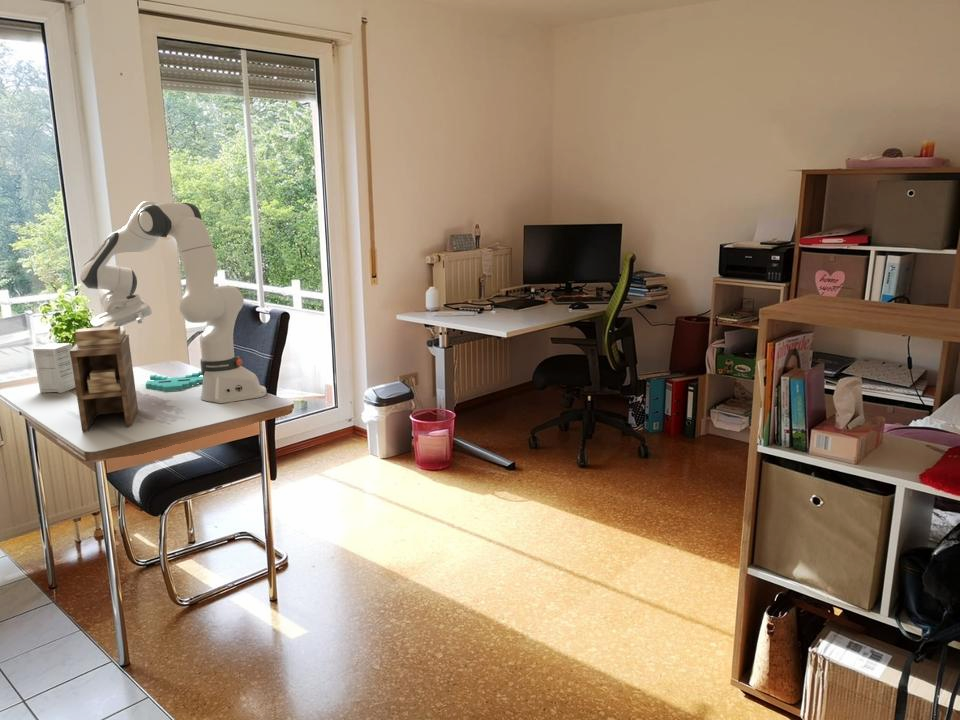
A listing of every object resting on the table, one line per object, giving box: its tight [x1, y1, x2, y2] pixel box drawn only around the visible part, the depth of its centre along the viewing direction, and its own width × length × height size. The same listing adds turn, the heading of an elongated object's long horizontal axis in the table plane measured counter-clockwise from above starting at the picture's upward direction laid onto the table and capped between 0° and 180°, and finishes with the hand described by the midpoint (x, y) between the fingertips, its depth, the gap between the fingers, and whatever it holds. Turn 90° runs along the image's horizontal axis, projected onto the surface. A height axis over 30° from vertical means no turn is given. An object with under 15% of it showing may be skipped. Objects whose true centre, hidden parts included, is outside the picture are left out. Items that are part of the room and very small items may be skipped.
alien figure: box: [145, 370, 203, 392], centre depth 283 cm, size 20×2×20 cm
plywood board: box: [74, 322, 127, 346], centre depth 244 cm, size 12×28×4 cm, turn 18°
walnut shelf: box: [70, 334, 139, 433], centre depth 238 cm, size 14×20×26 cm
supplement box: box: [32, 342, 76, 394], centre depth 276 cm, size 10×9×17 cm
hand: (126, 326), depth 266 cm, fingers open, 8 cm apart
